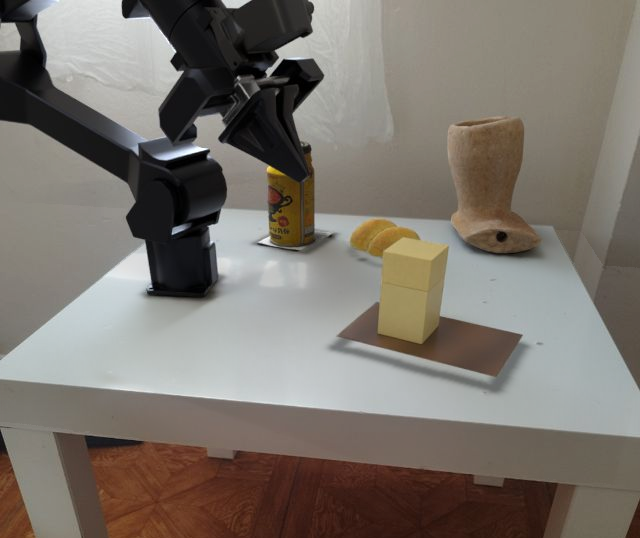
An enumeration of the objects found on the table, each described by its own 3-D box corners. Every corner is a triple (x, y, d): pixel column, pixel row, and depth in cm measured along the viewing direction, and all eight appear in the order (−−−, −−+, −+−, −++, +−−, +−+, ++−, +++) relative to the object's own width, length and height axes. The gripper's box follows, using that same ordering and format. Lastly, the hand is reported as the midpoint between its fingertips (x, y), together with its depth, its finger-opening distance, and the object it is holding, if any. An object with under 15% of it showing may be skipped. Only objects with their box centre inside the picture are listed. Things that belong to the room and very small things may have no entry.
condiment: (256, 243, 81) (251, 145, 74) (288, 226, 87) (286, 134, 80) (304, 253, 78) (304, 151, 71) (334, 234, 84) (336, 139, 78)
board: (335, 347, 57) (335, 335, 56) (375, 312, 64) (376, 301, 63) (494, 389, 51) (496, 376, 51) (520, 345, 58) (523, 334, 57)
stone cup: (431, 221, 90) (444, 106, 81) (513, 222, 90) (535, 108, 81) (445, 256, 77) (462, 126, 69) (540, 258, 77) (569, 128, 69)
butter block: (377, 333, 57) (380, 282, 54) (395, 316, 60) (400, 266, 57) (421, 344, 55) (427, 292, 52) (438, 326, 58) (445, 275, 55)
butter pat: (380, 282, 54) (383, 251, 52) (400, 266, 57) (402, 236, 56) (427, 292, 52) (431, 260, 51) (445, 275, 55) (449, 245, 54)
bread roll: (389, 271, 73) (392, 238, 71) (339, 251, 79) (340, 219, 76) (435, 256, 78) (438, 224, 75) (384, 238, 83) (386, 208, 81)
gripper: (173, -73, 40) (314, 131, 43) (309, -49, 54) (410, 104, 57) (102, 56, 48) (226, 224, 50) (237, 48, 62) (329, 180, 64)
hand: (305, 178), depth 55 cm, fingers closed
